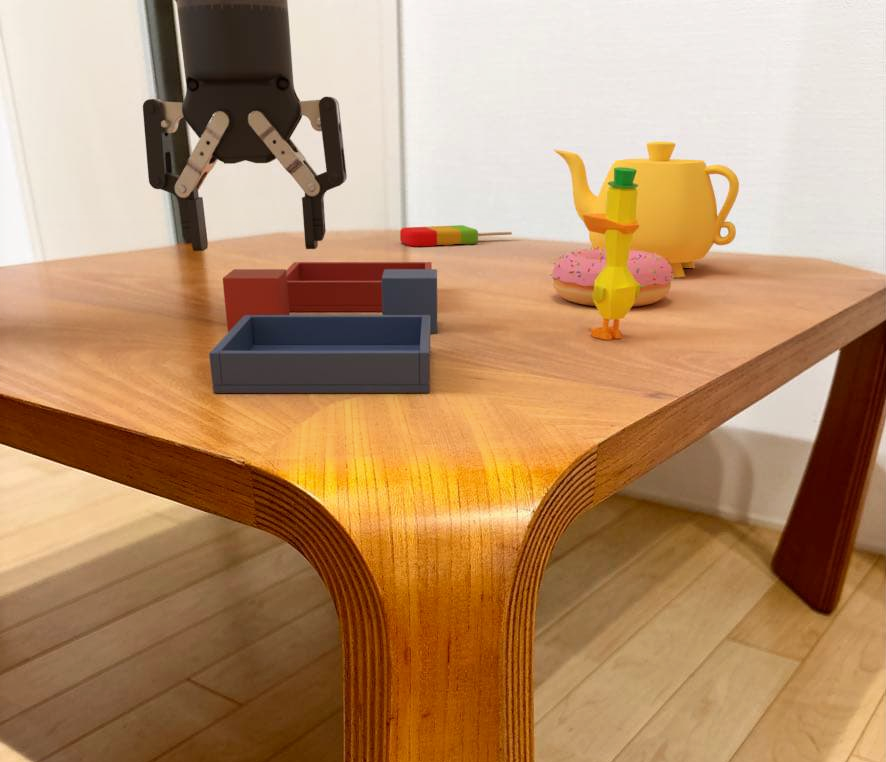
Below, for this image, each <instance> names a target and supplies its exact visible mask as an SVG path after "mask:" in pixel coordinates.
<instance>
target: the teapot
mask: <svg viewBox="0 0 886 762" xmlns="http://www.w3.org/2000/svg"><path fill="white" fill-rule="evenodd" d="M675 148H676V143H675V142H672V141H650V142H647V143H646V149H647V154H648V157H649V158H623V159H617V160H614V162H613V163H612V164H611V166H610V168H609V169H608V171H607V173H606V177H605V178H604V181H603V183H602V185H601V187H600V190H599V193H598V195H595V194H594V193H593V192H592V191H591V188H590V186H589V183H588V178H587V170H586V166H585V163H584V161H583V159H582V158H581V156H580V155H579V154H578V153H575V152H571V151H566V150H560V149H553V151H554V152H555V153H556V154H558V155H559V156H560V157H561V158H562V159H563V160H564V161H565V163H566V164H567V166H568V169H569V171H570V176H571V185H572V196H573V197H572V198H573V204H574V207H575V212H576V213H577V215H578V217H579V218H580V220H581V221H582V223H584V217H583V215H587V214H606V202H607V190H608V189H609V188H610V186H611V185H608V182H611V181H614V168H618V167H623V168H632V169H635V170H637V172H636V175H635V178H634V181H633V183H635V184H638V187H636V189H637V190H638V193H637V205H636V217H635V219H636V221H637V222H638V224H639V228H638V229H637V230H636V231H635V232H634V233H633V237H632V242H631V247H630V250H636V251H644V252H648V251H649V252H650V253H654V254H655V252H656V254H657V255H659V256H661V257H663V258H664V259H667V258H668V259H667V261H668V262H670V266H672V267H671V268H672V270H674V271H673V272H674V273H673V275H675V276H674V278H684V277H686V273H685V271H684V269H683V268H693V269H695V268H696V265H695V264H694V261H695V262H696V261H699V260H701V259H703V258H705V257H706V255H707V254H708V253H709V251H710V250H711V249H712V247H713V245H714V244H715V245H716V246H726V245H729V244H731V243H732V242H733V241H734V240H735V238H736V234H737V229H736V225H735V224H734V223H733V222H731V221H727V218H728V216H729V214H730V212H731V210H732V208H733V207H734V205H735V202H736V199H737V197H738V194H739V191H740V181H739V178H738V175H737V174H736V173H735V172H734V171H733V170H732V169H730V168H729V167H728V166H725V165H722V164H712V165H708V166H707V164H706V162H705V160H702V159H688V158H687V159H685V158H681V159H680V158H671V157H672V155H673V152H674V151H675ZM710 175H720V176H722V177H724V178H725V179H727V181H728V184H729V188H728V192H727V196H726V198H725V200H724V203H723V205H722V207H721V209H720V211H719V213H718V206H717V200H716V195H715V191H714V187H713V183H712V179H711V176H710ZM722 228H723V229H725V228H726V229H727V232H728V233H727V235H725V236H722V235H721V231H722ZM588 237H589V242H590V244H591V246H592V249H595V248H596V249H597V247H599V248H600V249H606V245H605V234H601V233H596V232H592V231H589V230H588ZM599 248H598V249H599Z"/></svg>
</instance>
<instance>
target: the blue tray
mask: <svg viewBox="0 0 886 762" xmlns="http://www.w3.org/2000/svg"><path fill="white" fill-rule="evenodd" d="M208 357H209V366H210V372H211V373H210V374H211V383H212V392H213V394H429V393H430V392H431V390H430V389H431V333H430V315H383V314H289V315H253V316H252V315H244V316H243V317H242V318H241V319H240V321H239V322H238V323H237V324H236V325H235V326H234V327H233V328H232V329H231V330H230V331H229V332H228V331H227V333H226V334H225V335H224V336H223V338H222V339H221V340H219V342H218V343H217V344H216V345H215V346H214V347H213V348H212V349H211V350H210V351H209V353H208Z"/></svg>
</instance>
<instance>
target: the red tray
mask: <svg viewBox="0 0 886 762" xmlns="http://www.w3.org/2000/svg"><path fill="white" fill-rule="evenodd" d="M432 264H433V263H432V261H294V262H292V264H291V265H290V266H289V267H288V268H287V269H286V274H287V288H288V303H289V313H290V312H291V313H294V312H296V313H297V312H298V313H299V312H301V313H302V312H307V313H308V312H309V313H310V312H313V313H315V312H316V313H317V312H319V313H320V312H321V313H323V312H337V313H339V312H344V313H346V312H353V313H354V312H355V313H357V312H359V313H360V312H362V313H363V312H366V313H367V312H368V313H369V312H377V313H378V312H381V313H383V312H382V276H383V273H384V270H385V269H432Z"/></svg>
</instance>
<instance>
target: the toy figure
mask: <svg viewBox="0 0 886 762" xmlns="http://www.w3.org/2000/svg"><path fill="white" fill-rule="evenodd" d="M636 172H637V170H635V169H632V168H623V167H618V168H614V181H611V182H608V185H611V186H610V188H609V189H608V190H607V202H606V214H587V215H583V217H584V222H583V223H584V225H585V227H586V229H587V230H588V232H589V231H592V232H596V233H601V234H605V245H606V266H605V267H604V269H603V270H602V271H601V273H600V274H599V275H598V276H597V278H596V279H595V283H594V291H593V293H592V297H591V298H593V301H594V303H595V305H596V306H595V308H596V309H597V311H598V312H599V315H600V316H601V318H602V319H603V320H602V326H601V327H593V328H591V329H590V336H591V337H593V338H596V339H601V340H605V341H609V340H612V339H615V340H617V339H622V338H623V334H622V333H621V331H620V328H619V327H620V320H622V319H624V318H625V317H626V316H627V314H628V313H629V312H630V310H631V309H632V306H633V305H634V302H635V298H637V297H638V296H639V291H640V286H641V285H640V284H639V283H637V282H636V281H635V279H634V278H633V276H632V274H631V272H630V271H629V269H628V267H627V262H628V257H629V252H630V247H631V242H632V237H633V233H634V232H635V231H636V230H637V229H638V228H639V224H638V222H637V221H636V219H635V217H636V205H637V193H638V190H637V189H636V187H638V184H635V183H633V181H634V178H635V175H636ZM633 307H634V306H633ZM610 320H613V323H612V324H613V325H612V326H611V325H610V323H609V322H610Z"/></svg>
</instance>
